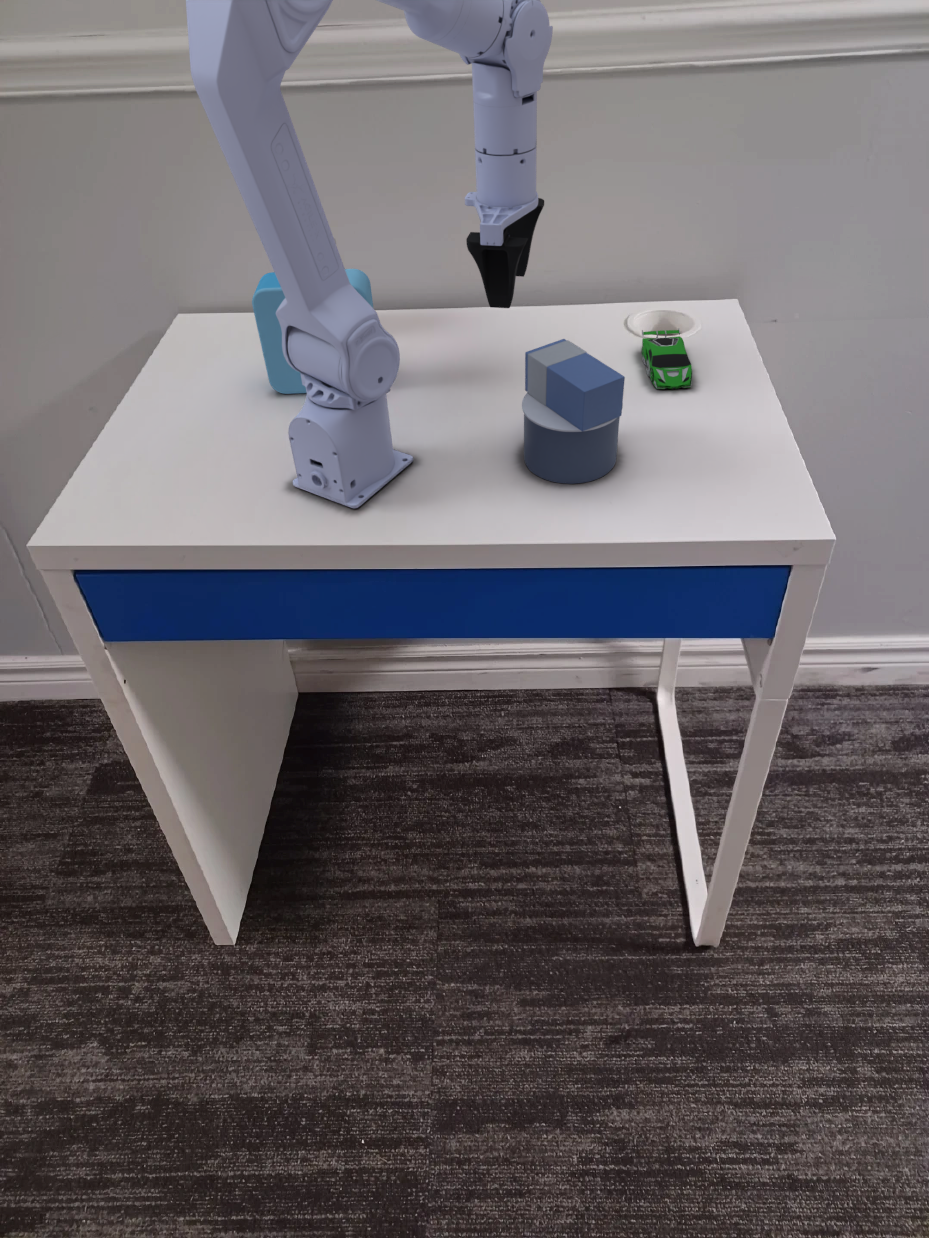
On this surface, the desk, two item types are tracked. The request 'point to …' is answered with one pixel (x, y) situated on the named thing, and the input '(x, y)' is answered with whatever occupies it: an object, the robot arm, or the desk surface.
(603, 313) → the desk surface
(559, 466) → the yogurt tub
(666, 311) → the desk surface
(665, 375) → the toy car
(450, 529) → the desk surface
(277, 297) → the data package
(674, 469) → the desk surface
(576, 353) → the block
